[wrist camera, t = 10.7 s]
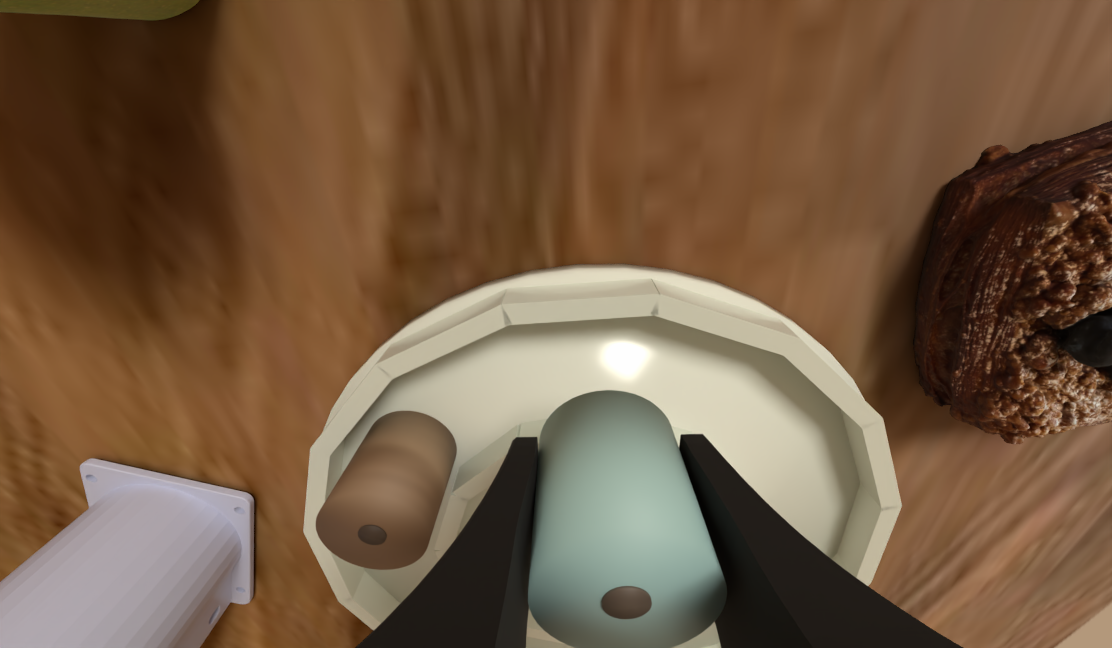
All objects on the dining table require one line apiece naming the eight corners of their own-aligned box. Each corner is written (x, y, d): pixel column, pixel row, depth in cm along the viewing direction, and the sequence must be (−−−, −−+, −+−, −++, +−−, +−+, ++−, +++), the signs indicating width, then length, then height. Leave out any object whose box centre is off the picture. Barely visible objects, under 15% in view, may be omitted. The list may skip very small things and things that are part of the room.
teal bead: (680, 388, 12) (743, 537, 8) (667, 492, 13) (713, 658, 9) (535, 391, 12) (520, 539, 8) (542, 494, 14) (533, 658, 9)
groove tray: (707, 686, 30) (719, 732, 28) (309, 609, 26) (285, 654, 24) (1002, 374, 18) (1064, 411, 16) (356, 163, 15) (319, 172, 13)
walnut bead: (446, 487, 20) (417, 581, 16) (362, 466, 20) (310, 557, 16) (465, 424, 19) (438, 511, 14) (374, 400, 18) (319, 483, 14)
